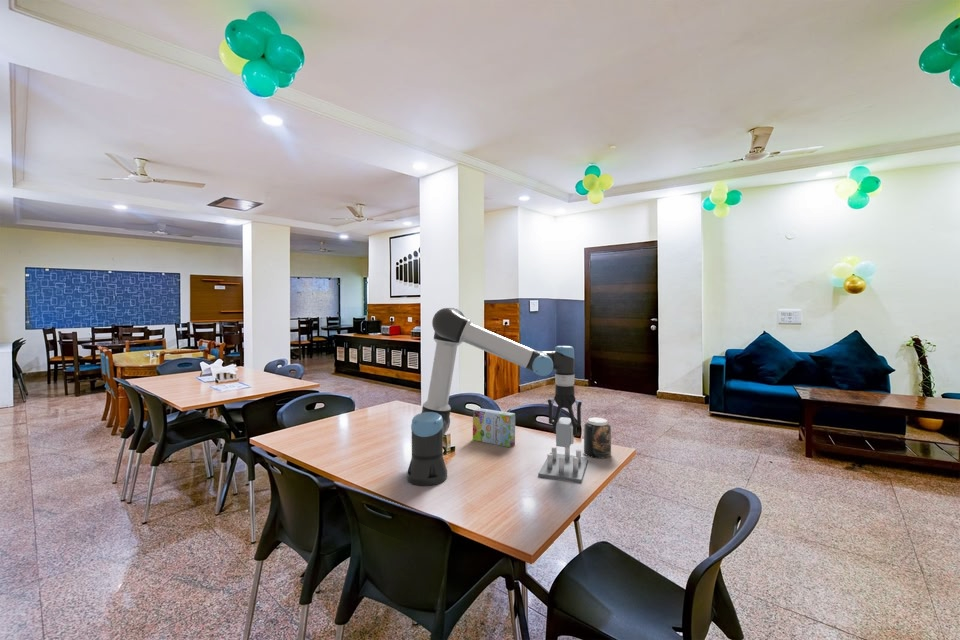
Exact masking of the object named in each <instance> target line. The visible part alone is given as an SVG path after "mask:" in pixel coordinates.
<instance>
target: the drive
mask: <svg viewBox="0 0 960 640" xmlns="http://www.w3.org/2000/svg"><path fill="white" fill-rule="evenodd" d="M571 426H572V422H571V418H570V417H565V416H564V417H560V416H559V419H558V422H557V423H556V434H555V445H556V446H555V447H558V448H560V447H561V448H565V447H567V448H569V447H570V448H571V445H572V444H571Z"/></svg>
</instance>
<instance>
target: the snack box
mask: <svg viewBox="0 0 960 640" xmlns="http://www.w3.org/2000/svg"><path fill="white" fill-rule="evenodd" d="M472 440H473V441H478V442H481V443H487V444H492V445H496V446H497V445H498V446H501V447H502V446H503V447H506V448H511V447H513V446H515V444H516V413H514V412H508V411H507V412H506V411H502V410H494V409H489V408H488V409H486V408H480V407H478V408H475V409H473V410H472Z"/></svg>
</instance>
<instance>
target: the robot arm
mask: <svg viewBox="0 0 960 640" xmlns="http://www.w3.org/2000/svg"><path fill="white" fill-rule="evenodd" d="M431 325H432V329H433V330H434V332H433V333H434V334H433V335H434V336H433V340H434V342H435V344H436V345H435V350H434V357H433V363H432V370H431V376H430V381H429V382H430V383H429V387H428V388H429V389H428V393H427V400H426V401H425V402H423V403H422V407H421V408H422V409H421V412H420V413H417V414H416V415H414V416H413V417H412V419H411V425H410V428H411V459H410V463H409V464H408V465H409V466H408V469H407V471H406V480H407V482H409V483H410V484H412V485H416V486H422V487H423V486H425V487H426V486H434V485H438V484H441V483H444V481H446V480H447V479H448V469H447V466H446V463H445V460H444V457H443V456H444V455H443V453H444V452H443V451H444V450H443V448H444V445H443V441H444V436H445V434H446V432H447V431H448V430H449V428H450V425H451V418H450V415H451V412H452V411H451V409H452V407H451V405H450V404H449V400H450V392H451V387H452V381H453V374H454V370H455V369H454V368H455V362H456V357H457V350H458V346H460V345H461V344H462V343H465V344H467V345H470V346H472V347H475V348H478V350H479V349H480V350H482V351H484V352H486V353H489V354H492V355H494V356H496V357H498V358H501V359H503V360H505V361H507V362H510V363H513V364H515V365H518V366H519V367H521V368H524V369H527V370H528V371H531V372H533V373H535V374H536V375H538V376H540V377H546V376H548V375H550V374H551V373H552V372H553V371H555V372H554V373H555V377H554V380H555V381H554V383H555V385H554V389H555V394H554V396H553V398H551V397H550V398H548V399H547V403H548V424H549V425H552V426H553V434H555V435H556V423H557V422H558V420H559V419H560V414H561V411H562V409H567V411H568V414H569V418H571V422H572V426H571V445H573V444H574V438H575V436H577V428H578V427H581V425H582V407H581V406H582V403H583V400H578V399H577V398H576V397H575V378H576V377H575V363H576V362H575V348H574V347H573V346H571V345H557V346H555V347H554V348H555V349H554V350H549V351H548V350H535V349H533V348H530V347H528V346H525V345H523V344H520V343H518V342H516V341H513V340H511V339H509V338H507V337H504V336H502V335H500V334H497V333H495V332H492V331H491V330H488V329H486V328H483V327H482V326H481V327H480V326H479V325H476V324H474V323H472V321H471V319H469V318H467V317H465V315H464V314H463V312H462V311H461V310H460V309H457V308H454V307H445V308H441V309H439V310H438V311H436V312H435V314H434V315H433V318H432V321H431ZM555 403H556V405H557V409H556V413H555V416H554V404H555ZM574 404H575V406H576V418H575V414H574V411H573V410H574V409H573V405H574ZM576 420H577V421H576Z"/></svg>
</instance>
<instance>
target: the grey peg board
mask: <svg viewBox="0 0 960 640" xmlns="http://www.w3.org/2000/svg"><path fill="white" fill-rule="evenodd" d="M557 451H558V449H557V446H551V452H549V453H548V454H547V455H546V456H547V458H546V459H545V461H544V463H543V464H542V466H541V467H540V469H539V472H538V474H537V477H539V478H540V477H541V478H547V479H552V480H560V481H564V482H565V481H566V482H573V483H578V484H582V482H583V478H584V475H585V471H586V469H587V468H586V467H587V465H588V462H589V456H588V457H587V456H582V450H580V449H576V450H575V455H572V454H571V446H570V447H569V448H567V447H564V454H562V453H557ZM587 461H588V462H587Z"/></svg>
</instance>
